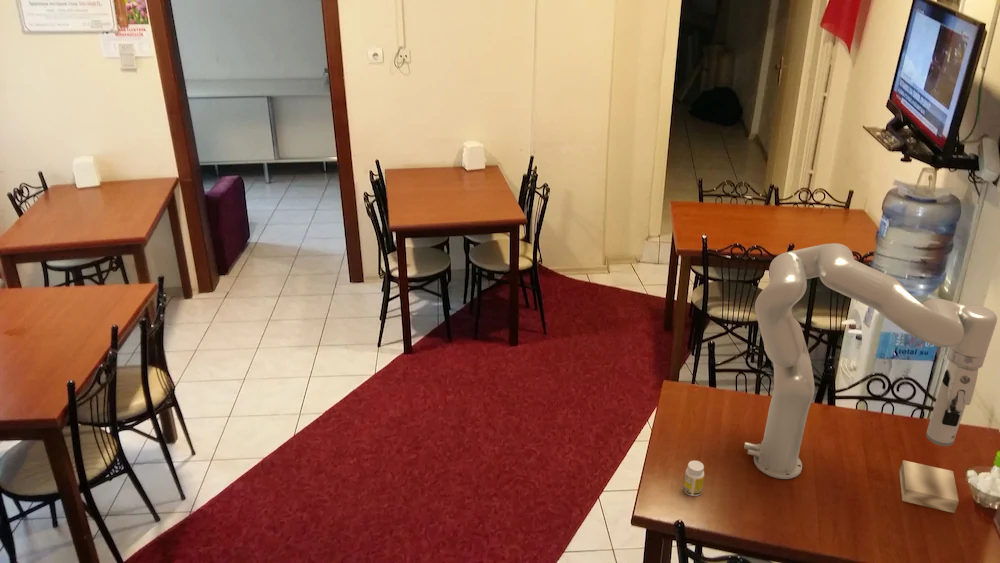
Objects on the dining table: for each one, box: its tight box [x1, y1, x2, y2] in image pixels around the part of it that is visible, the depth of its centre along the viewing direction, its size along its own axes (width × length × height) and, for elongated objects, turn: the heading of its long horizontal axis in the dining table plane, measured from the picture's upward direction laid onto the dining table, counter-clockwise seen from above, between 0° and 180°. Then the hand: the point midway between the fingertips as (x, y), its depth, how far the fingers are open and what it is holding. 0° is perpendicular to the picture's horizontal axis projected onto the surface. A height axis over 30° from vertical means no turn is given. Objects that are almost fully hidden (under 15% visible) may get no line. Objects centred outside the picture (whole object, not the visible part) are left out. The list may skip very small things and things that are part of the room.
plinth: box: [898, 459, 960, 514], centre depth 199 cm, size 12×12×4 cm
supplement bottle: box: [683, 460, 705, 497], centre depth 199 cm, size 5×5×8 cm
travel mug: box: [925, 369, 967, 447], centre depth 189 cm, size 6×7×20 cm
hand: (947, 416), depth 190 cm, fingers closed on travel mug, 6 cm apart
